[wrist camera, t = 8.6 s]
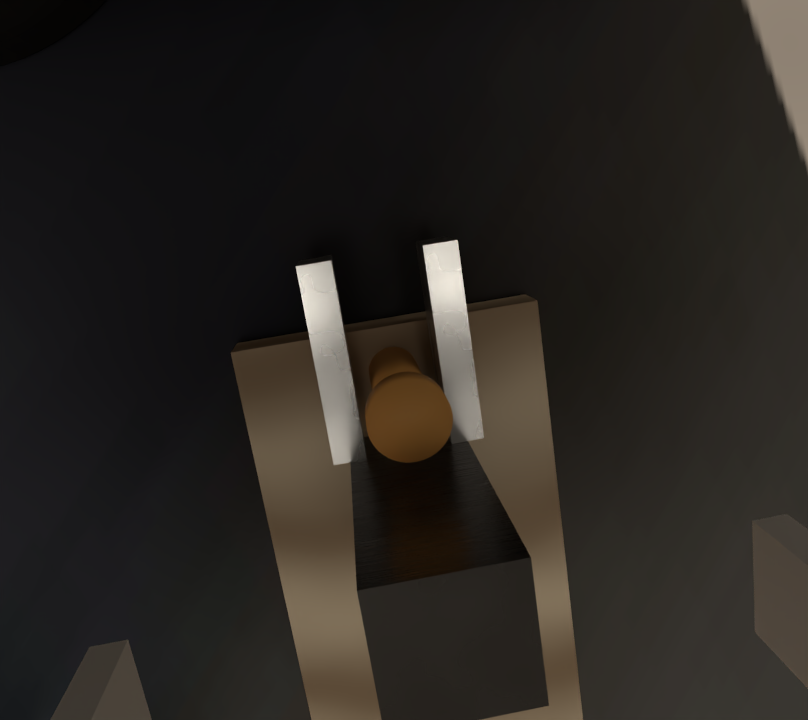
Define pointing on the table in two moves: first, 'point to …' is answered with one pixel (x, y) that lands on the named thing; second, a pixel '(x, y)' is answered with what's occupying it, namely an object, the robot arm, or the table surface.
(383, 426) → the keeper post
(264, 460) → the rail board
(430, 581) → the two-pronged fork block
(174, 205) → the table surface
